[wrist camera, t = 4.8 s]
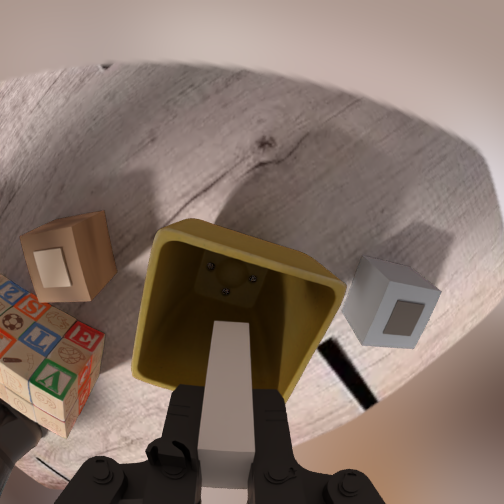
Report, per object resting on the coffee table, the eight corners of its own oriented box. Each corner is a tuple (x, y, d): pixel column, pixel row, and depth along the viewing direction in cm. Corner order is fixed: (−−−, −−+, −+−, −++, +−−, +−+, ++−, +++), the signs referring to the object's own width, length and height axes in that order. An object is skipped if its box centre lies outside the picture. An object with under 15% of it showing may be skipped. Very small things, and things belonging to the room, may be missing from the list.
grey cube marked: (341, 310, 23) (362, 346, 18) (361, 254, 22) (391, 281, 17) (388, 317, 24) (414, 350, 19) (409, 266, 22) (442, 292, 17)
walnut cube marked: (69, 275, 21) (38, 303, 17) (55, 219, 20) (18, 237, 15) (117, 271, 21) (90, 302, 17) (104, 210, 20) (70, 227, 15)
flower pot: (191, 194, 20) (155, 225, 11) (308, 232, 21) (352, 285, 12) (163, 301, 22) (129, 378, 14) (267, 331, 24) (279, 414, 15)
